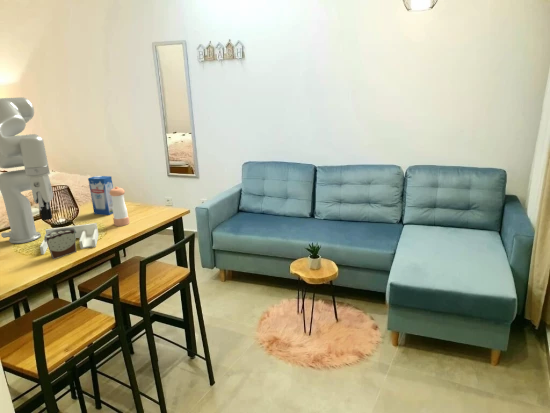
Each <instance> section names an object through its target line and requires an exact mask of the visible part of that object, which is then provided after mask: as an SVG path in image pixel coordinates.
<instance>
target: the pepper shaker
mask: <svg viewBox="0 0 550 413" xmlns="http://www.w3.org/2000/svg"><path fill="white" fill-rule="evenodd" d="M125 191H126V190H125V189H124V188H122V187H119V186H115V187H113V189H111V190H110V195H111V196H112V201H113V214H112V215H113V217H112V218H113V225H114V226H115V227H123V226H128V225H129V224H130V216H129V215H128V214H129V213H128V209H127V205H126V203H125V195H124V194H125Z"/></svg>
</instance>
